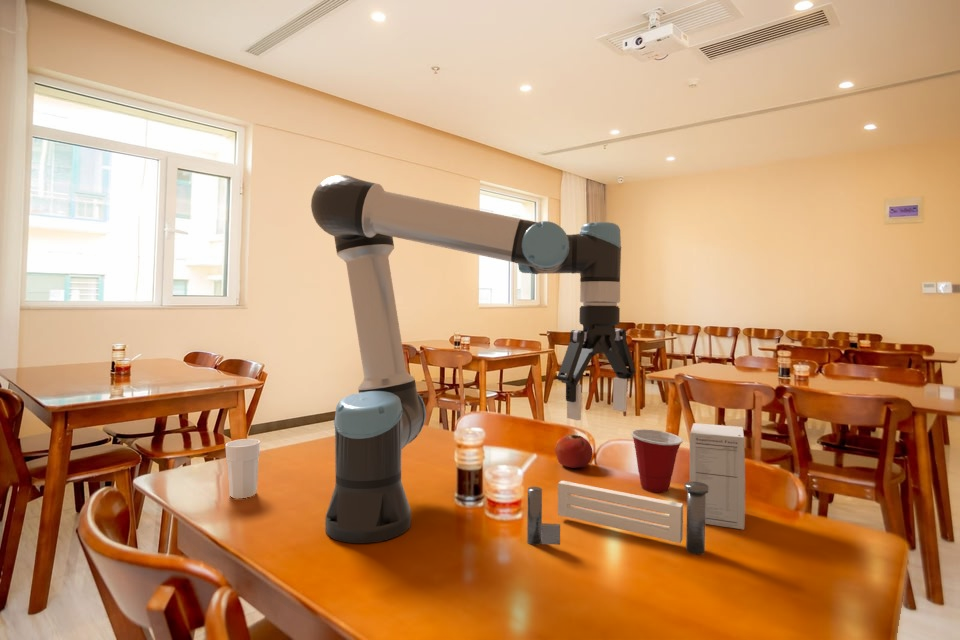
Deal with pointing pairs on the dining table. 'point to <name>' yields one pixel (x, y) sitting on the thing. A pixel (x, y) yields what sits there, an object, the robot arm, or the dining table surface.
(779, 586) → the dining table surface
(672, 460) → the plastic cup
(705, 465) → the supplement box
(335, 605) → the dining table surface
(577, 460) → the tomato
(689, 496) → the hinge post
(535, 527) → the post
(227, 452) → the cup
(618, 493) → the gate
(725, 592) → the dining table surface
